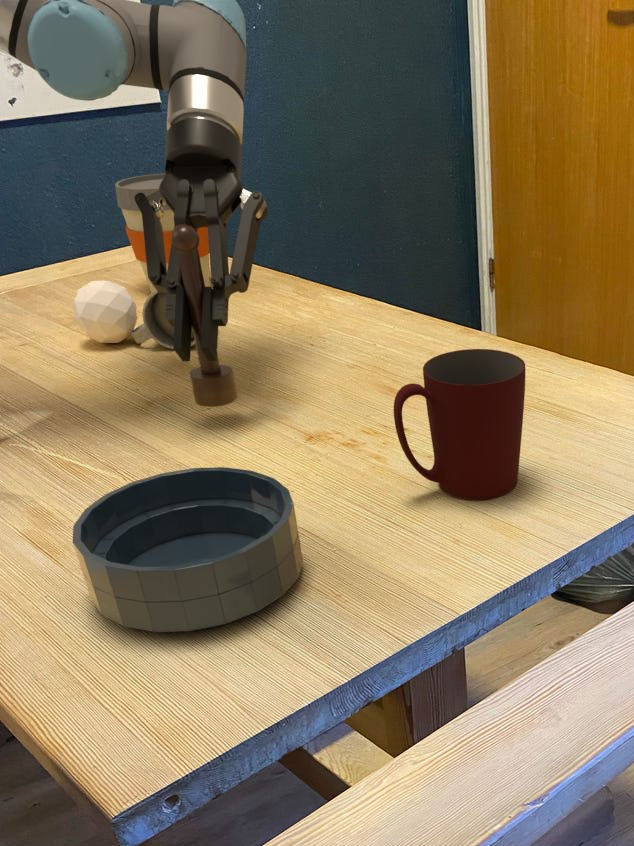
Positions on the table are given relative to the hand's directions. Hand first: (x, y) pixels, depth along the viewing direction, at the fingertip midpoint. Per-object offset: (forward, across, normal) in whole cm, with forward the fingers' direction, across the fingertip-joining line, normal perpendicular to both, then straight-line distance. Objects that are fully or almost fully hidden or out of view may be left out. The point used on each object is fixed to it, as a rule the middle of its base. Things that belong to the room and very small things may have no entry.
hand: (195, 354), depth 92 cm
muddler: (+2, 0, -7) cm, 7 cm away
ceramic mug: (-16, +12, -28) cm, 34 cm away
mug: (+15, -27, +3) cm, 31 cm away
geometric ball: (-16, +20, -28) cm, 38 cm away
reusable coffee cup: (-33, +18, -46) cm, 59 cm away
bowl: (+26, -6, +14) cm, 30 cm away
